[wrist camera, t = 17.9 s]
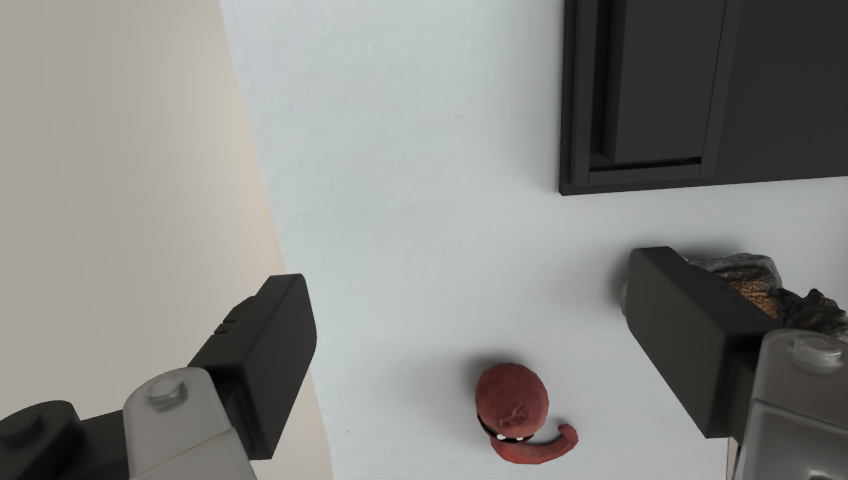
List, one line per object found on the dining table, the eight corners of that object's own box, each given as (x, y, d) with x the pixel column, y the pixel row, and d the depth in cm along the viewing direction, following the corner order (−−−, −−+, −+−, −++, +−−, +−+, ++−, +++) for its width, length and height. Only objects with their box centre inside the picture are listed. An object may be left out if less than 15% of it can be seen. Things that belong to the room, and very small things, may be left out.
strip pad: (611, -42, 27) (630, -53, 24) (705, -53, 27) (735, -65, 24) (599, 153, 32) (614, 163, 29) (679, 147, 31) (702, 156, 28)
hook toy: (629, 409, 35) (578, 490, 41) (595, 349, 40) (553, 429, 47) (493, 409, 33) (461, 495, 39) (475, 346, 38) (449, 431, 45)
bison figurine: (611, 319, 38) (664, 405, 29) (614, 244, 35) (674, 312, 26) (759, 308, 37) (865, 393, 28) (774, 229, 34) (897, 295, 25)
